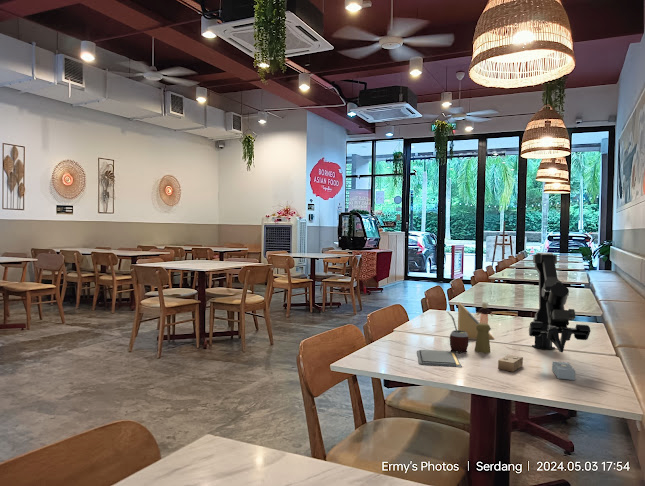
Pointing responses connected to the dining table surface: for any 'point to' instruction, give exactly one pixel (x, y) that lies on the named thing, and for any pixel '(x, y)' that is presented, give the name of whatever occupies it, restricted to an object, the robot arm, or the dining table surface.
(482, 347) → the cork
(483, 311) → the grandmother figurine
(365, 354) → the dining table surface
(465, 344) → the mate gourd
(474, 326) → the sandwich container
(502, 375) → the dining table surface
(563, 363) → the grey rectangular block
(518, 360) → the brown rectangular box
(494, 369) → the dining table surface
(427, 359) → the grey notebook
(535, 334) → the robot arm
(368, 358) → the dining table surface
